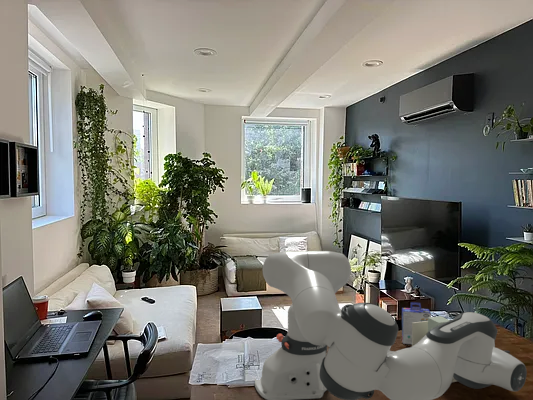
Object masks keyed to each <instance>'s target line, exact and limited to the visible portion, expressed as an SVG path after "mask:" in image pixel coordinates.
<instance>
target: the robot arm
mask: <svg viewBox="0 0 533 400" xmlns="http://www.w3.org/2000/svg"><path fill="white" fill-rule="evenodd" d="M351 273H352V267H351V263H350V260H349V258H348V257H347V256H346V255H345V254H344V253H342V252H341V253H340V252H337V251H336V252H335V251H332V250H300V251H299V250H291V251H290V250H289V251H287V250H286V251H279V252H278V251H277V252H275V253H270V254H268V256H267V257H266V258H265V260H264V261H263V265H262V276H263V278H264V280H265V282H266V284H267V285H268V286H269V287H271V288H274V289H276V290H279V291H281V292H283V293H285V295H287V296H288V298H290V299H291V302H292V303H291V305H290V306H289V307H288V310H287V333H286V335H285V336H284V335H283V334H282V333H278V334H277V335H276V339H277V341H278V342H279V343H281V346H280V347H279V348H278V349H277V350H276V351H274V352H273V353H272V354H271V355H270V356H268V357H267V358H265V360H264V362H263V365H262V371H261V373H262V377H261V379H260V380H256V379H255V378H254V381H255V383H254V387H255V390H256V391H257V393H258V394H259V395H260V396H261V398H262V399H263V398H264V399H265V400H309V399H310V400H311V399H321V398H323V397H324V393H325V392H326V391H328V393H329V394H331V395H332V396H334V397H335V398H338V399H340V400H359V399H365V400H369V399H372V398H373V396H374V393H375V391H376V390H377V391H379V392H382V394H383V395H385V396H386V398H388V399H389V400H435V399H438V398H439V397H442V396H443V394H445V393H446V392H447V391H448V389H449V388H450V386H451V385H452V383H453V382H452V379H453V378H454V379H455V380H457V382H459V384H462V385H463V386H466V387H468V388H470V389H475V390H480V389H484V388H487V387H490V386H492V385H494V386H496V387H500V388H503V389H505V390H508V391H510V392H519V391H520V390H522V388H523V387H524V386H525V383H526V379H527V374H528V373H527V367H526V365H525V364H524V363H523V362H522V361H521V360H519V359H518V358H516V357H515V356H513V355H512V354H511V353H506V352H504V351H505V350H502V349H500V348H498V347H496V344H495V343H496V338H497V334H498V328H497V326H496V324H495V323H494V322H493V320H491V318H489V317H488V316H485V315H484V314H482V313H479V312H471V311H470V312H469V311H468V312H467V311H465V312H461V313H459V314H457V315H456V316H455V317H454V319H451V320H450V319H449V320H450V321H448V322H446V323H443V324H441V325H438V326H436V327H434V328H432V329H431V330H430V331H429V332H428V333H427V334H426V335H425V336H424V337H423V338H422V339H421V340H420V341H419V342H418V343H417V344H415V345H414V346H412V345H411V346H410V347H405V348H402V349H398V350H396V351H394V350H393V351H392V350H391V347H392V346H394V345H395V342H396V341H397V340H396V339H397V336H398V334H399V326H398V324H397V321H396V320H395V317H393V316H392V315H391V313H390V312H389V311H387V310H386V309H384V308H382V307H381V306H379V305H377V304H374V303H371V302H357V303H354V304H346V305H343V307H342V308H341V307H340V306H339V302H338V299H337V296H336V294H337V293H338V291H339V290H340V289H341V288H343V287H345V286H346V285H347V284H348V281H349V280H350V278H351V275H352V274H351Z"/></svg>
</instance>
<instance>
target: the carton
mask: <svg viewBox="0 0 533 400" xmlns="http://www.w3.org/2000/svg"><path fill="white" fill-rule="evenodd" d="M427 333H428V321H422V322H414V323H412V344H411V347H412V346H414V345H415V344H417V343H418V342H419V341H420V340H421V339H422V338H423V337H424V336H425V335H426V334H427ZM455 382H458V381H457V380H455V379H454V378H453V379H452V382H451V383H455Z"/></svg>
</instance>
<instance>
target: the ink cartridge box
mask: <svg viewBox="0 0 533 400" xmlns="http://www.w3.org/2000/svg"><path fill="white" fill-rule="evenodd" d="M414 305H416V306H414ZM429 317H432V313H431V310H430V309H428V308H422V305H421V302H413V301H412V302H410V307H401V330H402V331H401V342H402V344H404V345H405V344H406V345H412V323H414V322H422V321H428V318H429Z"/></svg>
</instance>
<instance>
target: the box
mask: <svg viewBox="0 0 533 400" xmlns="http://www.w3.org/2000/svg"><path fill="white" fill-rule="evenodd" d="M448 321H450V319H448V318H446V317H444V316H441V315H440V316H439V315H438V316H431V317H429V318H428V332H429V331H430V330H431V329H432V328H434V327H436V326H438V325H441V324H443V323H446V322H448Z"/></svg>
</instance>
